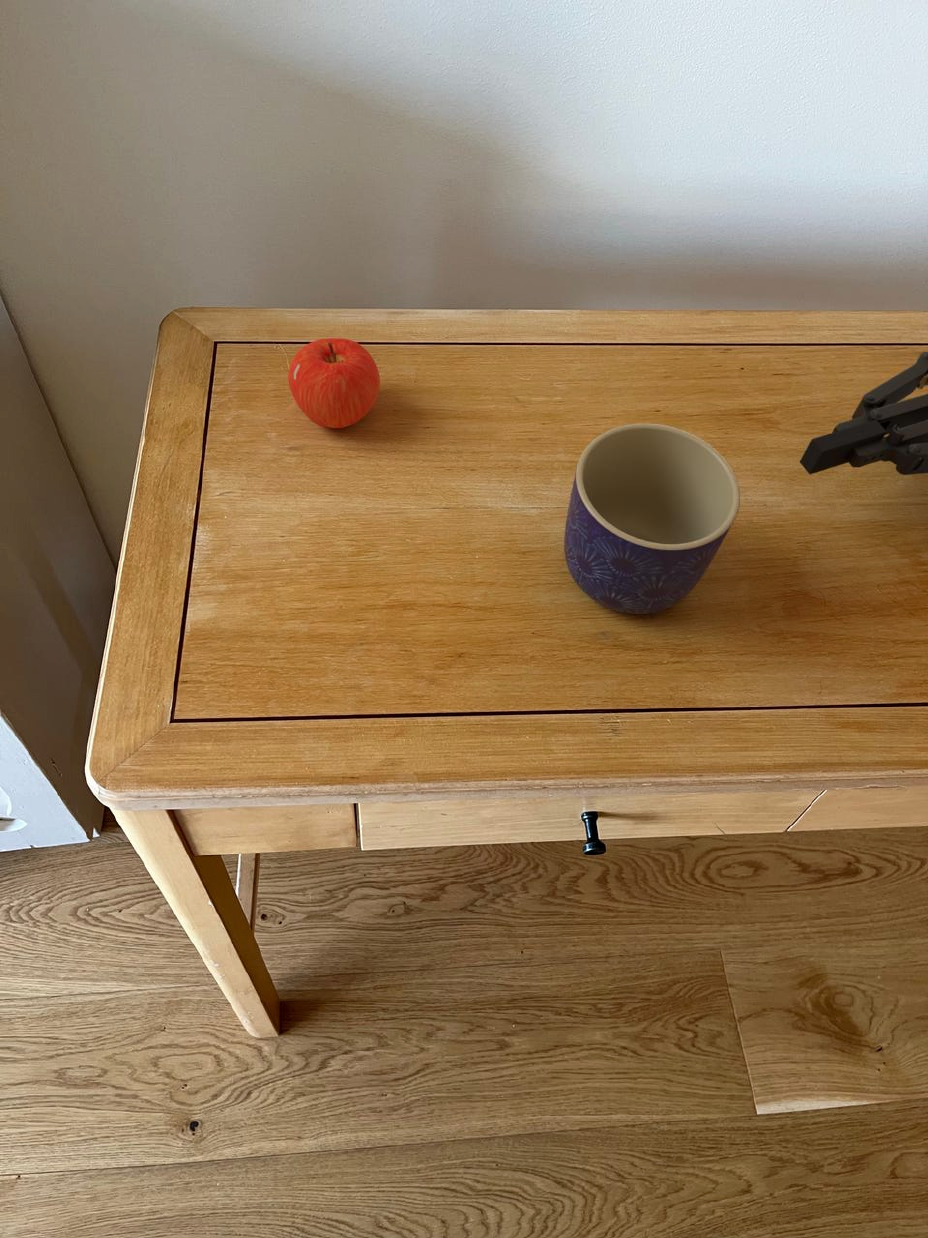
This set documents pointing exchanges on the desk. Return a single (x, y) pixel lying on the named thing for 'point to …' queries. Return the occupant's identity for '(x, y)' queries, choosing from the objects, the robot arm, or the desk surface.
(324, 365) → the apple
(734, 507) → the planter
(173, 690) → the desk surface
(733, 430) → the desk surface
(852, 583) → the desk surface
